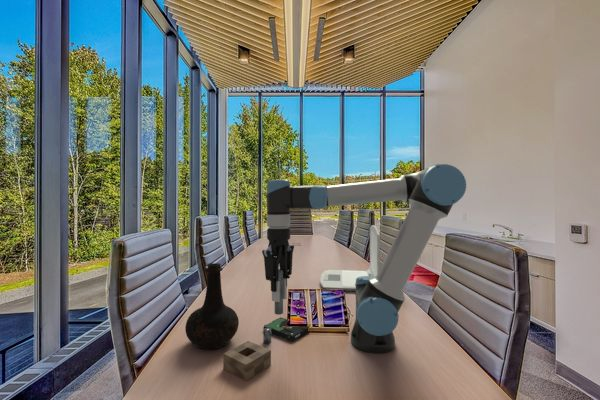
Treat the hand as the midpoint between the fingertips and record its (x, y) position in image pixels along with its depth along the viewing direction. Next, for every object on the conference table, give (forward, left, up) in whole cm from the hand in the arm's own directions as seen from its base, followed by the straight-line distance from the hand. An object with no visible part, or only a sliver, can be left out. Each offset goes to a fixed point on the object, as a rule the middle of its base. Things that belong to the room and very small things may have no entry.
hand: (279, 299), depth 96 cm
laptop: (+23, -89, -19) cm, 94 cm away
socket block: (+3, +11, -18) cm, 21 cm away
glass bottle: (+24, +8, -18) cm, 31 cm away
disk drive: (+9, -14, -19) cm, 25 cm away
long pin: (0, 0, -4) cm, 4 cm away
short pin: (+9, -4, -18) cm, 21 cm away
